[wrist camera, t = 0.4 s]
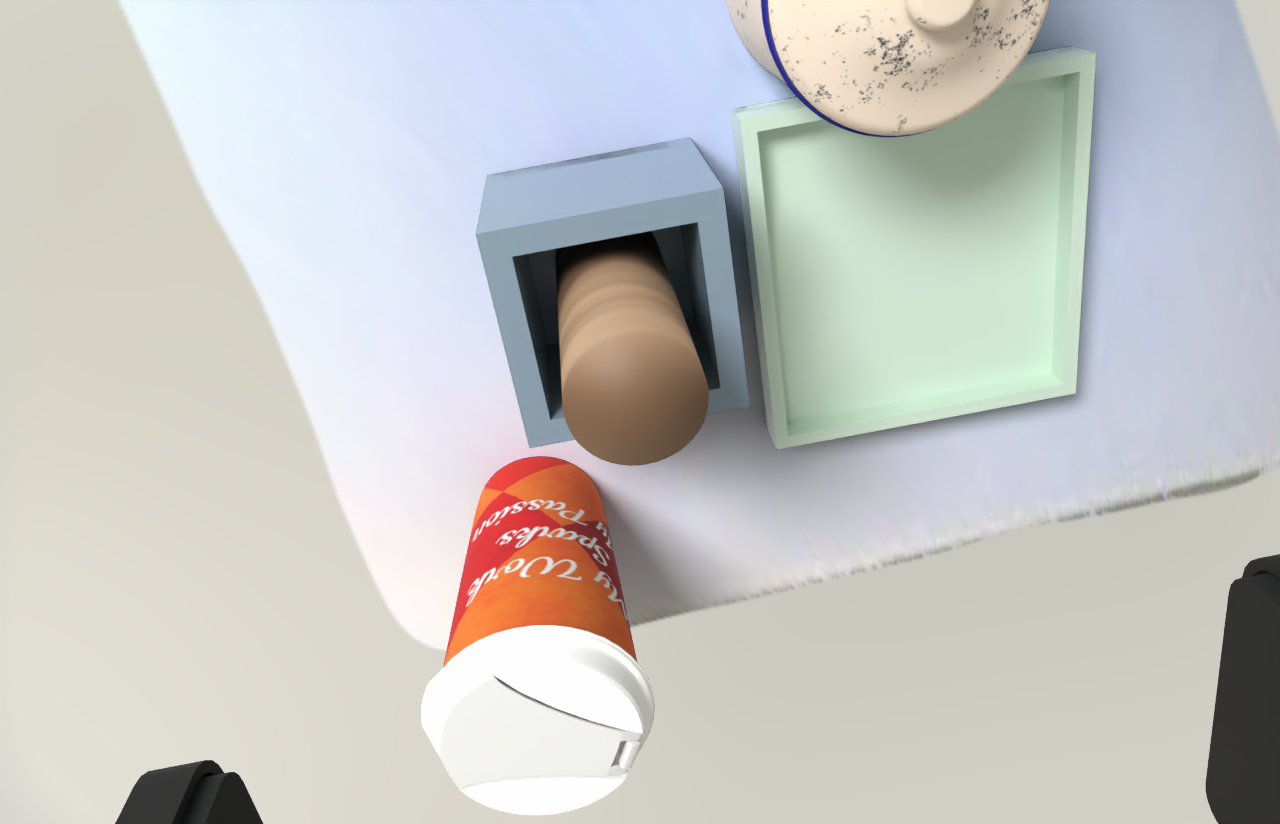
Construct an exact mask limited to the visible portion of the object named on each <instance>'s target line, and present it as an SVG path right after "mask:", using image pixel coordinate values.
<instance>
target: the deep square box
mask: <svg viewBox="0 0 1280 824" xmlns="http://www.w3.org/2000/svg"><path fill="white" fill-rule="evenodd" d="M647 231H651V232H652V233H653V235H654V236H655V238H656V240H657V243H658V246H659V249H660V251H661V254H662V257H663V260H664V263H665V265H666V268H667V271H668V274H669V276H670V279H671V282H672V285H673V288H674V290H675V293H676V296H677V299H678V302H679V304H680V307H681V310H682V313H683V316H684V318H685V321H686V324H687V327H688V330H689V332H690V335H691V338H692V341H693V344H694V346H695V349H696V352H697V355H698V358H699V360H700V363H701V366H702V369H703V371H704V374H705V377H706V380H707V384H708V390H709V404H708V409H707V414H706V415H709V414H714V413H719V412H725V411H730V410H735V409H741V408H746V407H750V403H749V395H748V387H747V378H746V370H745V362H744V354H743V346H742V337H741V329H740V321H739V313H738V305H737V296H736V288H735V280H734V272H733V264H732V255H731V247H730V239H729V231H728V223H727V214H726V206H725V198H724V190H723V187H722V185H721V184H720V182H719V181H718V179H717V178H716V176H715V175H714V173H713V172H712V170H711V169H710V167H709V166H708V164H707V163H706V161H705V160H704V158H703V157H702V155H701V154H700V152H699V151H698V149H697V147H696V146H695V144H694V143H693V141H692V140H691V138H685V139H679V140H674V141H669V142H663V143H658V144H652V145H647V146H642V147H636V148H631V149H626V150H620V151H615V152H609V153H604V154H599V155H593V156H588V157H583V158H577V159H572V160H566V161H561V162H556V163H550V164H545V165H540V166H534V167H529V168H524V169H518V170H513V171H507V172H502V173H497V174H491V175H487V177H486V183H485V188H484V193H483V199H482V204H481V209H480V214H479V220H478V225H477V230H476V237H477V241H478V245H479V249H480V253H481V257H482V261H483V265H484V269H485V273H486V277H487V281H488V285H489V289H490V293H491V297H492V301H493V305H494V309H495V312H496V316H497V320H498V324H499V328H500V332H501V336H502V340H503V344H504V348H505V352H506V356H507V360H508V364H509V368H510V372H511V376H512V380H513V384H514V388H515V392H516V396H517V400H518V404H519V408H520V412H521V416H522V420H523V424H524V428H525V432H526V436H527V440H528V444H529V448H534V447H539V446H544V445H550V444H555V443H560V442H565V441H571V440H576V439H575V438H574V437H573V435H572V434H571V432H570V430H569V428H568V426H567V424H566V421H565V417H564V413H563V404H562V384H561V364H560V344H559V324H558V304H557V285H556V265H555V258H556V251H557V248H562V247H567V246H572V245H578V244H583V243H589V242H594V241H599V240H605V239H610V238H615V237H621V236H626V235H631V234H637V233H642V232H647Z"/></svg>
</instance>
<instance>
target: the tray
mask: <svg viewBox="0 0 1280 824" xmlns="http://www.w3.org/2000/svg"><path fill="white" fill-rule="evenodd" d="M1095 64H1096V53H1095V52H1091V51H1087V50H1083V49H1080V48H1076V47H1072V46H1070V47H1064V48H1059V49H1053V50H1048V51H1043V52H1037V53H1032V54H1027V55H1026V57H1025V58H1024V59H1023V61H1022V62H1021V64H1020V65H1019V67H1018V68H1017V69H1016V71H1015V72H1014V73H1013V74H1012V75H1011V77H1010V78H1009V79H1008V80H1007V81H1006V82H1005V83H1004V84H1003V85H1002V86H1001V87H1000V89H999V90H998V91H997V92H995V93H994V94H993V95H992V96H991V97H990V98H989V99H987V100H986V101H985V102H984V103H982V104H981V105H980V106H978V107H977V108H976V109H974V110H973V111H971V112H969V113H968V114H966V115H964V116H963V117H961V118H959V119H957V120H955V121H953V122H951V123H949V124H946V125H944V126H942V127H939V128H936V129H934V130H931V131H927V132H924V133H920V134H916V135H910V136H904V137H873V136H866V135H861V134H857V133H853V132H850V131H847V130H844V129H841V128H839V127H837V126H835V125H833V124H831V123H829V122H827V121H826V120H824V119H822V118H821V117H819V116H818V115H816V114H815V113H814V112H813V111H811V110H810V109H809V108H808V107H806V106H805V105H804V104H803V103H802V102H801V101H800V100H799V99H798V98H797V97H795V98H790V99H785V100H779V101H774V102H769V103H763V104H758V105H752V106H747V107H742V108H736V109H731V114H732V122H733V131H734V140H735V149H736V158H737V166H738V175H739V184H740V193H741V202H742V210H743V219H744V228H745V237H746V246H747V254H748V263H749V272H750V281H751V289H752V298H753V307H754V316H755V325H756V333H757V342H758V351H759V360H760V369H761V377H762V386H763V395H764V404H765V413H766V421H767V429H768V432H769V434H770V436H771V438H772V441H773V443H774V445H775V448H776V450H779V449H784V448H789V447H795V446H800V445H805V444H810V443H816V442H821V441H826V440H832V439H837V438H842V437H847V436H853V435H858V434H863V433H869V432H874V431H879V430H885V429H890V428H895V427H900V426H906V425H911V424H916V423H922V422H927V421H932V420H938V419H943V418H948V417H953V416H959V415H964V414H969V413H975V412H980V411H985V410H990V409H996V408H1001V407H1006V406H1012V405H1017V404H1022V403H1028V402H1033V401H1038V400H1043V399H1049V398H1054V397H1059V396H1065V395H1070V394H1075V393H1076V380H1077V364H1078V347H1079V330H1080V314H1081V297H1082V280H1083V264H1084V247H1085V230H1086V214H1087V197H1088V180H1089V164H1090V147H1091V130H1092V114H1093V97H1094V80H1095Z"/></svg>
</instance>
